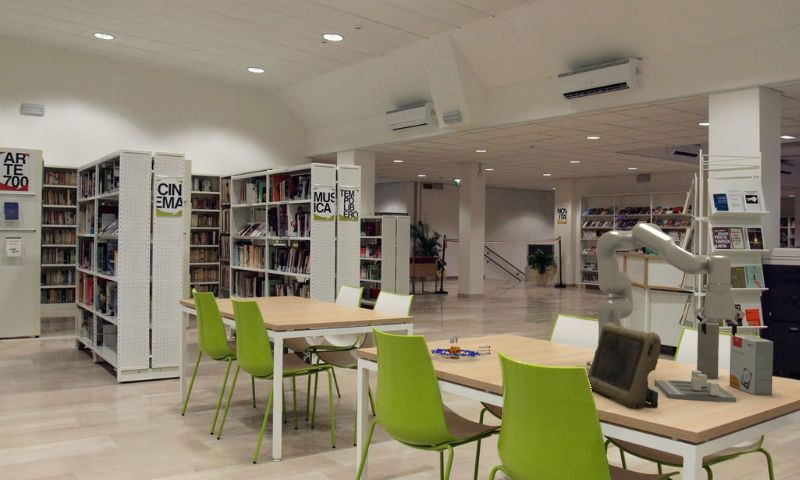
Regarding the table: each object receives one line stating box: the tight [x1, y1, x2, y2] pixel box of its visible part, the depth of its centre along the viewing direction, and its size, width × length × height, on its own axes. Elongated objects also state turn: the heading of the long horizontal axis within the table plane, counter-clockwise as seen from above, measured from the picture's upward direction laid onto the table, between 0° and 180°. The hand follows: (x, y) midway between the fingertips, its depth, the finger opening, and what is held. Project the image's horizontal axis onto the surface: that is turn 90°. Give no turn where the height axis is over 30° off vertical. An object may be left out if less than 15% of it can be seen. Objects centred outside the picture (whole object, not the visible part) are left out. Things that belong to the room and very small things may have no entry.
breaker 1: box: [691, 370, 702, 377], centre depth 250 cm, size 3×3×4 cm
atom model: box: [428, 335, 492, 360], centre depth 304 cm, size 35×26×10 cm
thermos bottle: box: [696, 311, 720, 380], centre depth 270 cm, size 8×8×28 cm
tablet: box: [587, 322, 662, 410], centre depth 230 cm, size 33×14×25 cm, turn 16°
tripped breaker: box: [690, 376, 701, 390], centre depth 237 cm, size 3×3×4 cm
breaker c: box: [697, 374, 708, 387], centre depth 243 cm, size 3×3×4 cm
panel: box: [654, 379, 737, 403], centre depth 240 cm, size 22×25×2 cm
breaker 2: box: [708, 381, 720, 396], centre depth 229 cm, size 3×3×4 cm
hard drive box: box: [729, 334, 774, 396], centre depth 246 cm, size 16×8×20 cm, turn 5°
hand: (719, 334), depth 242 cm, fingers open, 9 cm apart
